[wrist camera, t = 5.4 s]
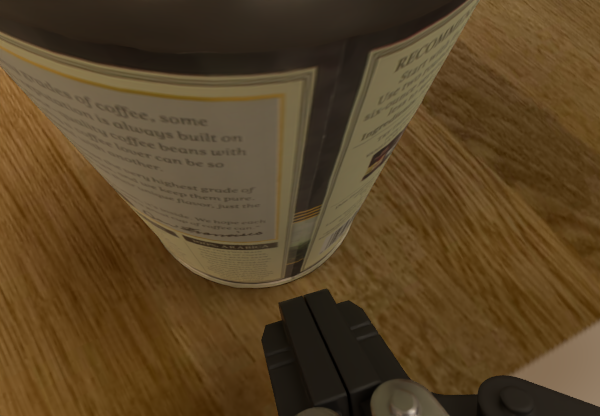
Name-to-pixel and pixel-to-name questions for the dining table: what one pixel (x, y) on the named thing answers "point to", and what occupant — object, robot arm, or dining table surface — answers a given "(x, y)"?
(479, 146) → the dining table surface
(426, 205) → the dining table surface
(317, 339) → the robot arm
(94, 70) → the coffee can
